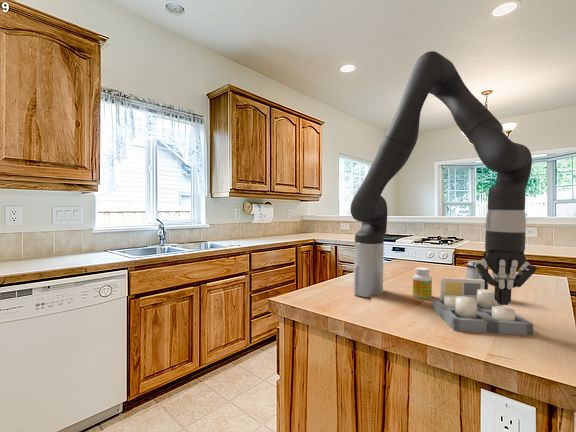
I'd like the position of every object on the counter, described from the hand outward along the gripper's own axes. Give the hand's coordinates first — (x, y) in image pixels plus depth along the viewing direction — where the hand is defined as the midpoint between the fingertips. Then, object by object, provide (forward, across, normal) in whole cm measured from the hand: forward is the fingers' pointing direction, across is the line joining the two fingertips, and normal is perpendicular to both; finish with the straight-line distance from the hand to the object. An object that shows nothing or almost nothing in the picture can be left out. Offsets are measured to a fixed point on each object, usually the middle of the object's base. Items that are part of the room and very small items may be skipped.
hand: (502, 304), depth 71 cm
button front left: (+3, -8, 0) cm, 8 cm away
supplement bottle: (+7, -12, +23) cm, 27 cm away
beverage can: (+7, +5, +26) cm, 27 cm away
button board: (+6, -4, +4) cm, 8 cm away
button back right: (+3, 0, +8) cm, 9 cm away
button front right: (+5, 0, 0) cm, 5 cm away
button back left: (+5, -8, +8) cm, 12 cm away
